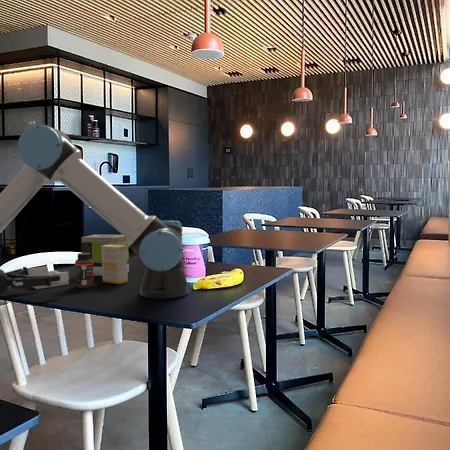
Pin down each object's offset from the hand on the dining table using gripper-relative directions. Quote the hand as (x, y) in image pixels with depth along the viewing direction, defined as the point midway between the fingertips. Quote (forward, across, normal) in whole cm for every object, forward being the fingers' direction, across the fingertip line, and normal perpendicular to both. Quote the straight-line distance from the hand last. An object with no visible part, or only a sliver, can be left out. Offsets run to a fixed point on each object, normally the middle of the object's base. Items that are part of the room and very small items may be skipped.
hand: (57, 273), depth 160 cm
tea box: (+27, -14, -6) cm, 31 cm away
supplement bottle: (+10, 0, -6) cm, 11 cm away
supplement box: (+20, +2, -6) cm, 22 cm away
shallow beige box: (+3, -14, -6) cm, 15 cm away
